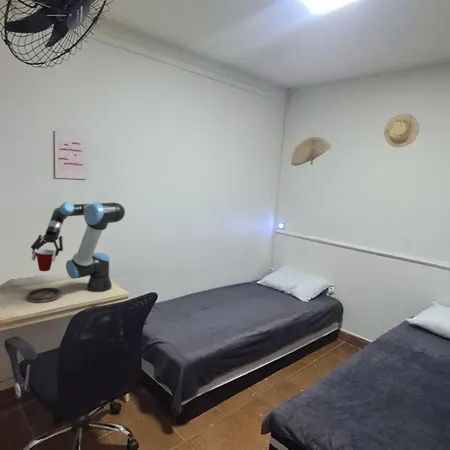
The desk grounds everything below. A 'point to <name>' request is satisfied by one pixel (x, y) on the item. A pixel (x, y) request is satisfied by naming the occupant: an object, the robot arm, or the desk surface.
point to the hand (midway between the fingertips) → (42, 259)
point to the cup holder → (44, 295)
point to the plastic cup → (44, 259)
